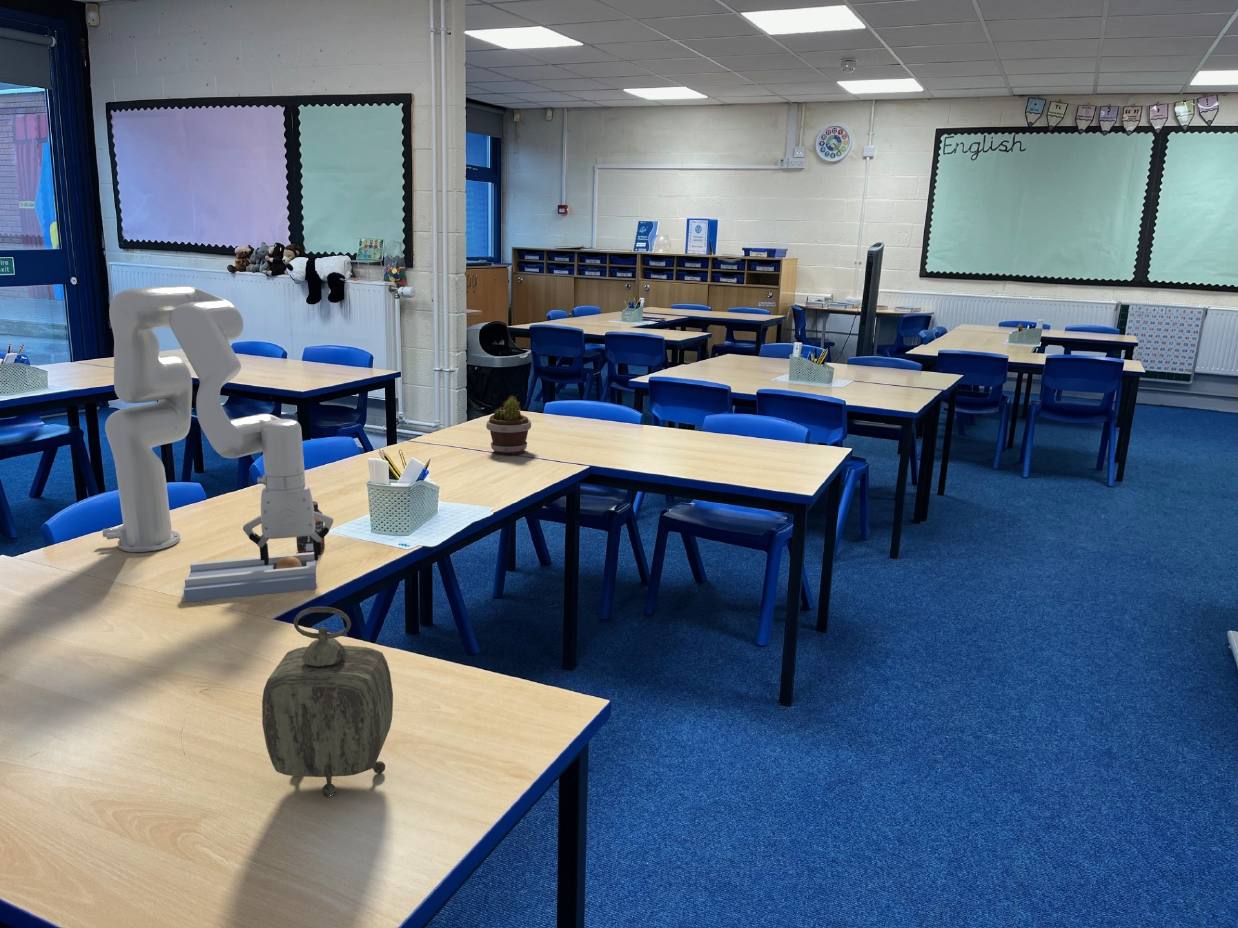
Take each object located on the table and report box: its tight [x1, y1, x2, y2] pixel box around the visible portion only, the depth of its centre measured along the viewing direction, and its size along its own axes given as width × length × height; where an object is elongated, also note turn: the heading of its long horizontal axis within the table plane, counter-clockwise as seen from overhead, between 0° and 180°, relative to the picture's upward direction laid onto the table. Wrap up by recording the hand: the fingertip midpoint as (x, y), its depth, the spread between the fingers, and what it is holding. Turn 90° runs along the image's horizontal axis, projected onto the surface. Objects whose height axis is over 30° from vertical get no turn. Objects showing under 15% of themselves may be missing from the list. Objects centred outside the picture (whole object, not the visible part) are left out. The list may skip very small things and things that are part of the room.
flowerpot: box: [485, 395, 532, 456], centre depth 288 cm, size 14×15×20 cm
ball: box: [276, 556, 302, 569], centre depth 180 cm, size 5×5×5 cm
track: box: [183, 552, 317, 603], centre depth 178 cm, size 24×14×4 cm, turn 109°
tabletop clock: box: [261, 606, 394, 797], centre depth 110 cm, size 14×9×25 cm, turn 92°
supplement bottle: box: [295, 500, 326, 554], centre depth 196 cm, size 6×6×11 cm
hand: (291, 560), depth 180 cm, fingers open, 9 cm apart
